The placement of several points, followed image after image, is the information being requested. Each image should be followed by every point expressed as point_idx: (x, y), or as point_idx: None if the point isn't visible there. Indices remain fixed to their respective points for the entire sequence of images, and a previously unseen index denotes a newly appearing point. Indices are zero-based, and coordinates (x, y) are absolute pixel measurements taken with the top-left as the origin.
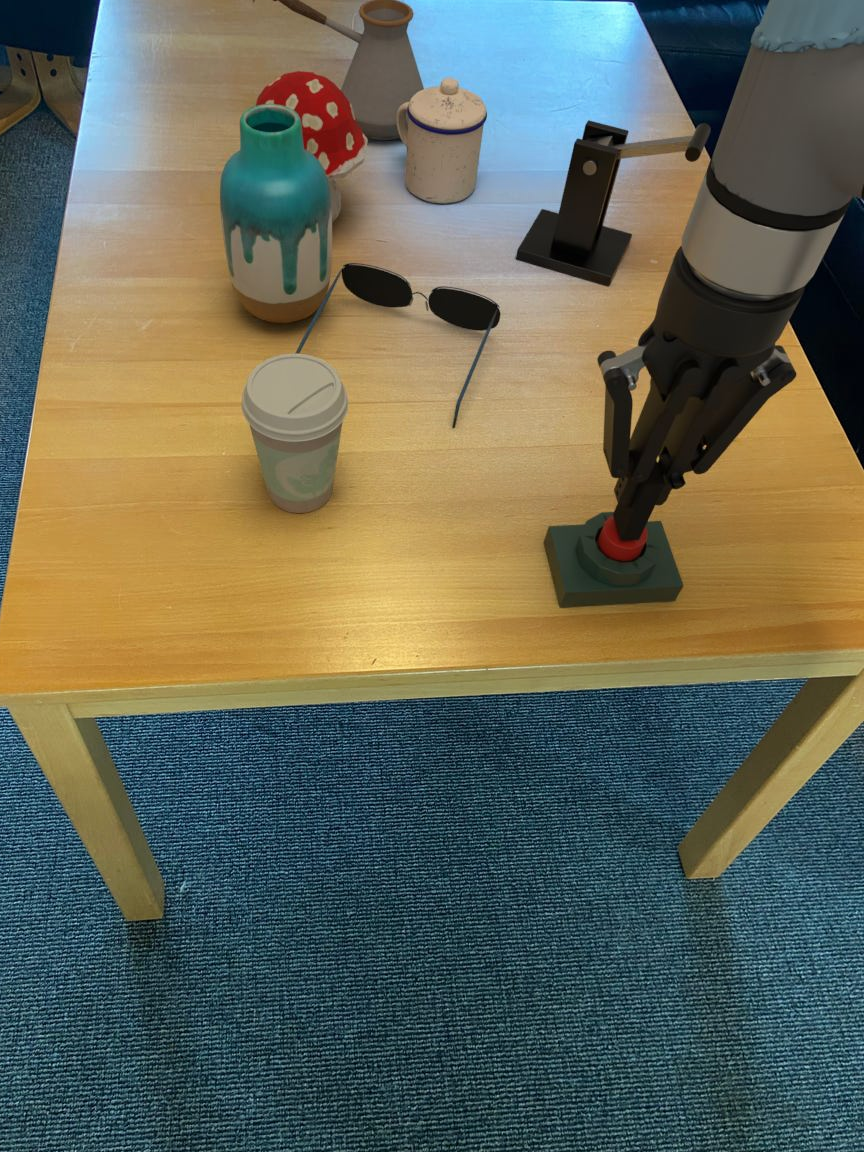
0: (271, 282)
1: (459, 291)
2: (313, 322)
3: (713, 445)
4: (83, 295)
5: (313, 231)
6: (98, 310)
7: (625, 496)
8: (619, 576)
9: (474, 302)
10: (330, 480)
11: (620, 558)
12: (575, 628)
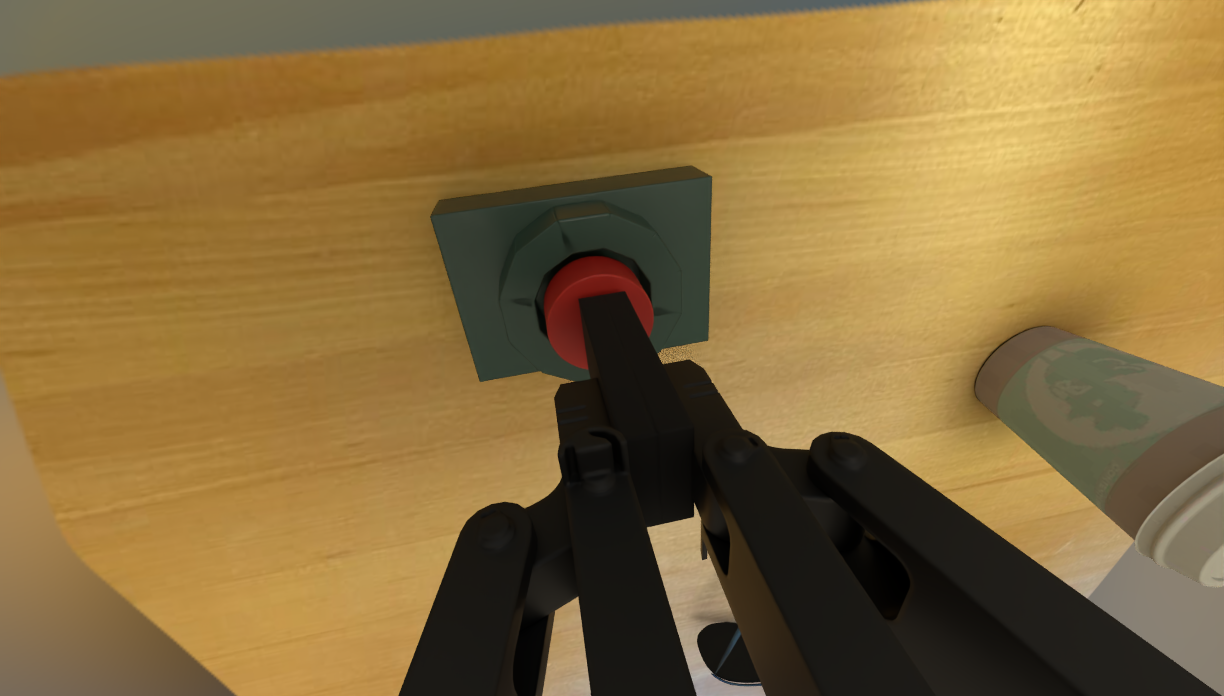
0: None
1: None
2: None
3: (491, 692)
4: (1101, 563)
5: None
6: (1098, 551)
7: (701, 387)
8: (607, 210)
9: (739, 669)
10: (1037, 377)
11: (603, 259)
12: (669, 109)
